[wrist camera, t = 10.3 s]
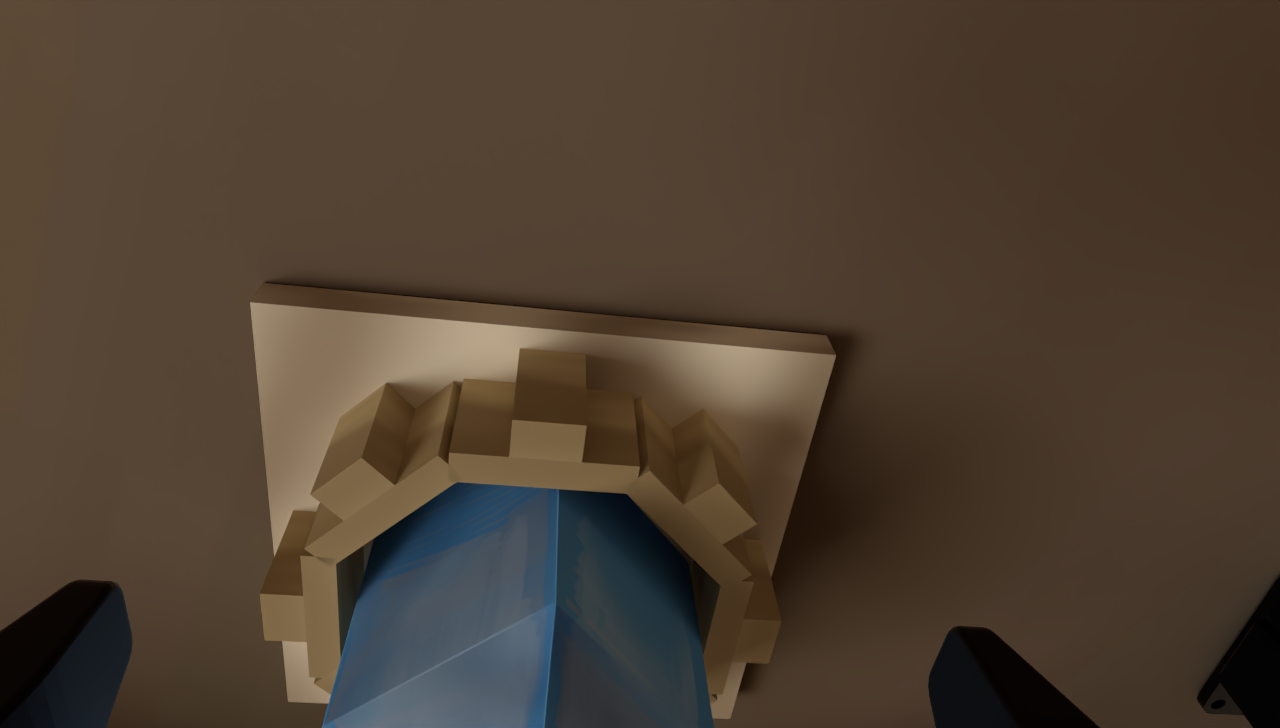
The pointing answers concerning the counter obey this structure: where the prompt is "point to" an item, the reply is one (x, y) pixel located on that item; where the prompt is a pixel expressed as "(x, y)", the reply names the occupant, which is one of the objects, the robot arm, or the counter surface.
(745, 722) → the counter surface
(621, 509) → the perfume bottle
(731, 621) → the gear board
